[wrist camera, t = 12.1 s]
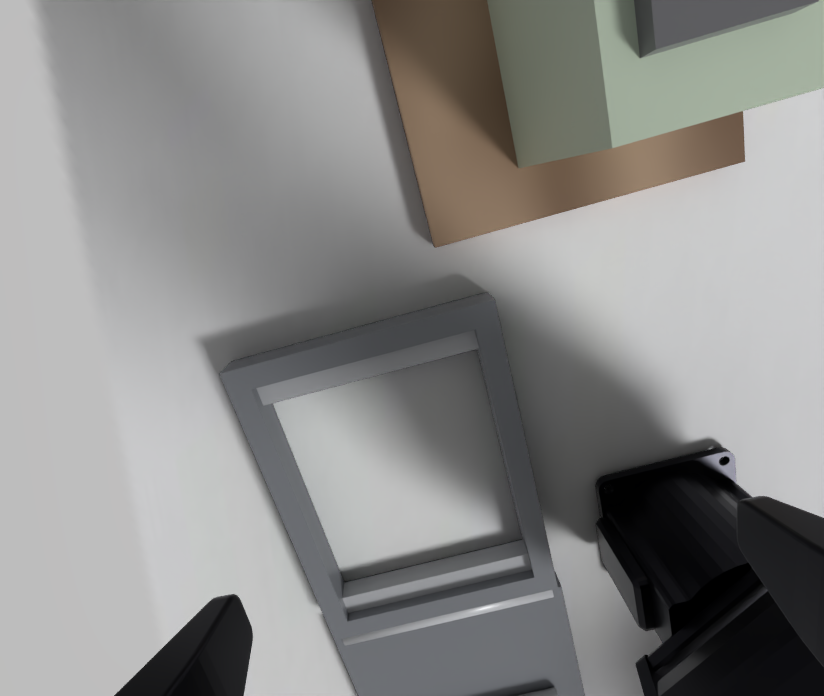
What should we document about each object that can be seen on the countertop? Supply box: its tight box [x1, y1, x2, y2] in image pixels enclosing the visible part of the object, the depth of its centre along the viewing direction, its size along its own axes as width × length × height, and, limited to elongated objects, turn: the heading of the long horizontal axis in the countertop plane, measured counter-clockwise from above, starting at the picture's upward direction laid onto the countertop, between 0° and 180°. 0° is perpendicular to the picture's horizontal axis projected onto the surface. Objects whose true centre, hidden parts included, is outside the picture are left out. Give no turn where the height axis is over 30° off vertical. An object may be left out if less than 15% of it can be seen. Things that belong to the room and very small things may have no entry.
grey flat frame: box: [219, 292, 585, 696], centre depth 24 cm, size 12×30×2 cm, turn 15°
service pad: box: [372, 0, 745, 248], centre depth 17 cm, size 12×12×1 cm
